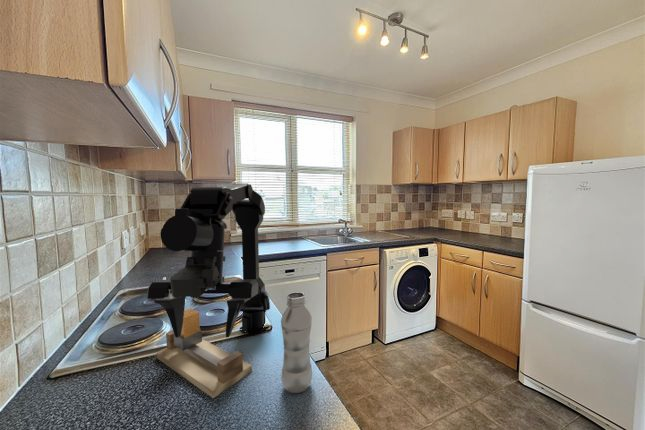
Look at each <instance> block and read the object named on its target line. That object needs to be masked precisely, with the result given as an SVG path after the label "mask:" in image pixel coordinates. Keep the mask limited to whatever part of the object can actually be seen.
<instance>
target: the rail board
mask: <svg viewBox="0 0 645 430" xmlns="http://www.w3.org/2000/svg"><path fill="white" fill-rule="evenodd" d="M165 336H166V337H165V338H166V347H165V348H163V349H161V350H159V351H157V352H156V359H157V360H159V361H160V362H162V363H163V364H165V366H167V367H169V368H170V369H171V370H172V371H174V372H175V373H177V374H178V375H180V376H181V377H183V378H184V379H186V380H187V381H188V382H189V383H190V384H193V385H194V386H195V387H197V388H198V389H199V390H201V391H202V392H203V393H205V394H206V395H208V396H209V397H211V398H212V399H214V398H216V397H217V396H219V395H221V394H222V393H223V392H224V391H226V390H228V389H229V388H230V387H231V386H233V385H235V384H236V383H237V382H239V381H241V379H243V378H245V377H246V376H247V375H249V374H250V373H251V372H253V365H252V364H251V363H250V362H247V361H245V360H243V359H244V357H243V356H244V355H243V353H242V352H240V351H238V350H236V351H234V352H232V353H230V352H228V351H226V350H224V349H222V348H220V347H219V346H216V345H214V344H212V343H211V342H209V341H206V340H205V339H203V338H202V342H200V343H198V344H196V345H194V346H192V347H190V348H188V349H186V350H184V351H182V350H180V349H179V348H177V347H176V346H174V331H173V329H172V330H170V331H168V332H166V335H165Z"/></svg>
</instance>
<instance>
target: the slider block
mask: <svg viewBox="0 0 645 430" xmlns="http://www.w3.org/2000/svg"><path fill="white" fill-rule="evenodd" d="M200 324H201V323H200V311H197V310H195V309H192V308H188V309H184V317H183V327H182V331H181V335H180V337H178V338H176V337H175V335H174V346H176V347H177V348H179V349H180V350H182V351H184V350H186V349H188V348H190V347H192V346H194V345H196V344H198V343H200V342H202V339H203V333H202V332H203V331H202V330H201V327H200V326H201V325H200Z"/></svg>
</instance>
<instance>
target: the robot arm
mask: <svg viewBox="0 0 645 430" xmlns="http://www.w3.org/2000/svg"><path fill="white" fill-rule="evenodd" d="M189 192H190V193H188V195H187V196H186V198H185V199H184V201H183V203H182V205H181V206H180V208H179V207H178V208H175V209H174V215H173V216H171V217H170V218H168V219H167V220H166V221H165V222H164V224H163V226H162V228H161V229H160V240H161V242H162V244H163V246H164V247H165V248H166V249H168V250H170V251H174V252H190V256H186V261H185V266H184V268H180V269H179V270H178V271H177V272H176V273H174V274H173V275H171V276H170V278H169V279H163V280H155V281H152V282H151V283H150V284H149V286H148V287H147V291H146V292H147V293H146V299H148V300H149V299H150V300H151V299H153V303H154V304H156V305H157V304H158V305H160V306H161V307H162V308H163V309H164V311H165V312H166V314H167V317H168V320H169V321H170V326H171V328H172V330H173V331H174V335H175V337H176V338H178V337H180V335H181V331H182V327H183V317H184V311H185V305H186V298H187V297H190V298H192V299H194V298H199V297H202V295H203V294H204V295H205V294H211V295H212V294H213V295H214V294H217V295H218V294H226V295H227V294H228V295H229V296H230V297H231V298H229V299H227V300H226V304H227V316H226V325H225V338H230V336H231V335H232V332H233V328H234V327H235V325H236V321H237V319H238V316H239V314H240V312H242V316H241V326H240V327H239V330H240V329H242V330H243V332H244V331H246V332H245V333H246V334H249V335H251V336H255V335H257V334H258V333H260V332H262V331H264V330H266V329H267V328H266V327H264V328H263V326H264V324H265V323H266V312H267V311H269V310H270V309H271V304H270V303H271V302H270V297H269V294H268V293H267V291H266V286H265V285H266V284H265V283H264V281H263V280H262V278H261V277H260V261H259V260H260V259H259V258H260V257H259V253H260V252H259V228H260V226H261V224H262V222H263V221H264V215H265V213H266V205H265V202H264V199H263V197H262V195H260V194H259V193H258V192H256V191H255V190H254V189H253V186H252V185H251V184H250V183H248V182H247V183H246V182H245V183H238V182H237V183H235V182H234V183H232V184H230V185H227V186H194V187H192V188H191V189H190V190H189ZM231 212H232V213H233V214H234V218H235V220H234V221H235V222H236V224H237V226H238V227H239V228H240V230H241V249H242V250H241V251H242V252H241V254H242V278H241V279H235V280H233V281H230V282H229V283H225V276H223V270H224V268H223V267H224V262H226V255H224V249H225V248H224V247H225V230H227V228H228V226H227V223H226V222H225V221H223V220H224V219H225V218H226V216H227V215H229V213H231ZM265 328H266V329H265ZM242 330H241V331H242Z"/></svg>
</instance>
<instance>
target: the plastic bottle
mask: <svg viewBox="0 0 645 430" xmlns="http://www.w3.org/2000/svg"><path fill="white" fill-rule="evenodd" d="M305 297H306V296H305V293H304V292H300V291H295V292H290V293H288V294H287V295H286V306H287V308H286V309H285V310H284V312H283V314H282V315H281V319H280V323H281V324H280V326H281V333H282V338H283V364H282V368H281V376H280V378H281V382H282V383H281V384H282V386H283V388H284V389H285V390H286V391H287V392H288V393H291V394H300V393H302V392H304V391H306V390H307V389H308V388H309V386H310V385H311V384H312V380H313V367H312V363H311V356H310V354H311V353H310V339H311V338H310V336H311V329H312V324H313V323H312V321H313V319H312V318H313V317H312V314H311V312H310V311H309V309H308V308H307V307H306V306H305V305H306V299H305Z"/></svg>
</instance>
